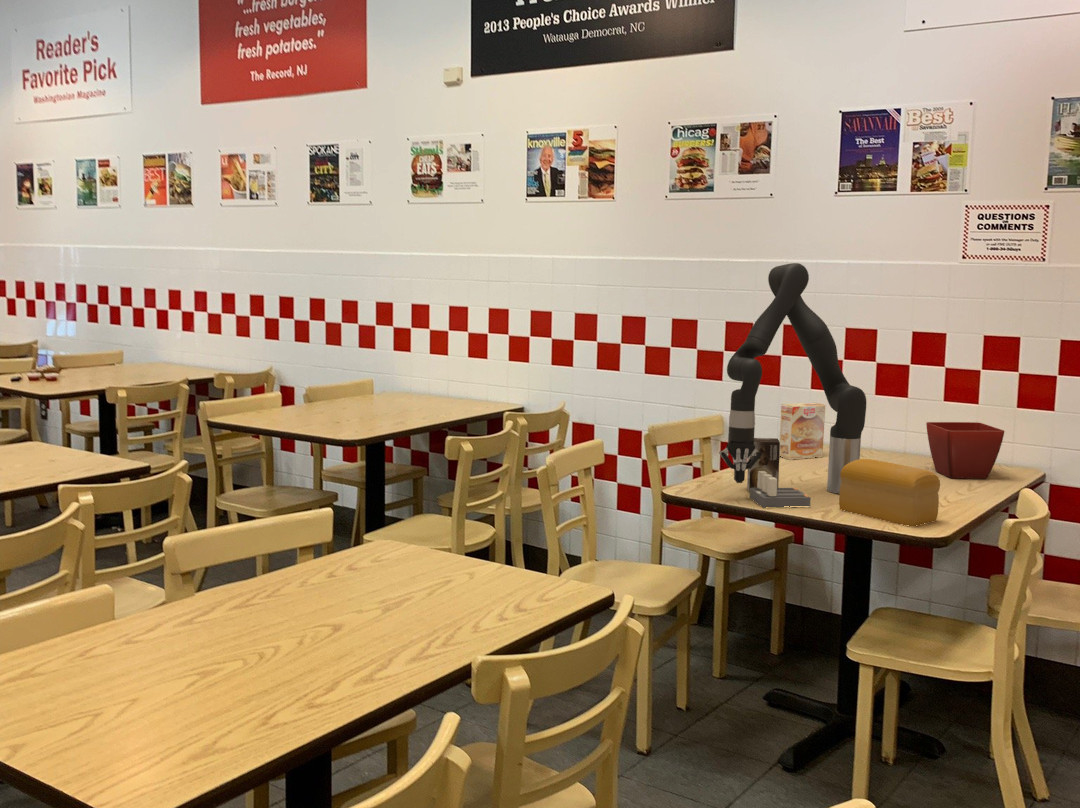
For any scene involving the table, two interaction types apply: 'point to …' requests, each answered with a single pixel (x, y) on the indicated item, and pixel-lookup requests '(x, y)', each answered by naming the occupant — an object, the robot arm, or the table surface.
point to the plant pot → (964, 448)
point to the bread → (889, 492)
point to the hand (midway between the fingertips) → (739, 482)
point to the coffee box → (764, 460)
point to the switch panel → (780, 498)
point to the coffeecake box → (802, 430)
